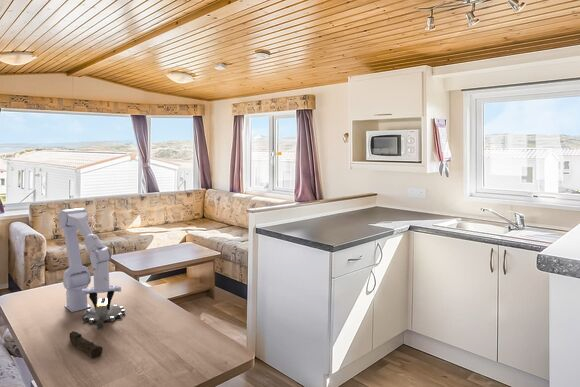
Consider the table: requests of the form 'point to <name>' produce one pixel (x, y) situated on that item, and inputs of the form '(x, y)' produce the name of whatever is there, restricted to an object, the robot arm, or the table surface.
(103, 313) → the knob box
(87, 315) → the sprocket
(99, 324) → the index pointer
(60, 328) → the table surface
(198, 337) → the table surface
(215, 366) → the table surface
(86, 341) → the dark brown bar
